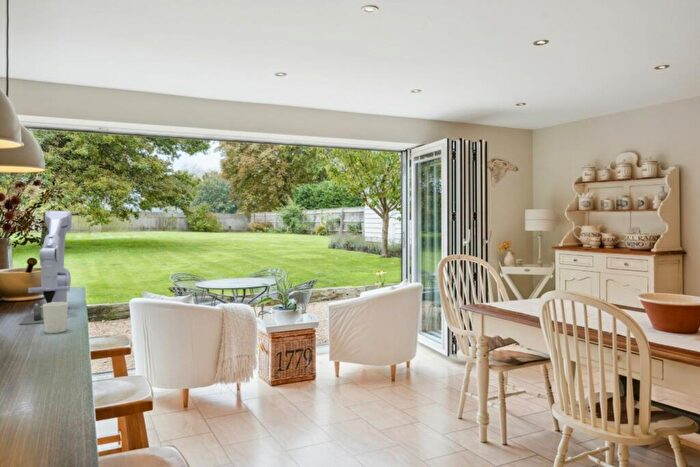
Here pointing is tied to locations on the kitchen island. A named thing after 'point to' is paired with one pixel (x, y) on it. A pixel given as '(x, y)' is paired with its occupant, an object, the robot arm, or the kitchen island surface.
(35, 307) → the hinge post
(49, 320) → the white cup
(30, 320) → the mat
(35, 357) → the kitchen island surface
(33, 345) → the kitchen island surface
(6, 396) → the kitchen island surface
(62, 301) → the pale green slotted bar
